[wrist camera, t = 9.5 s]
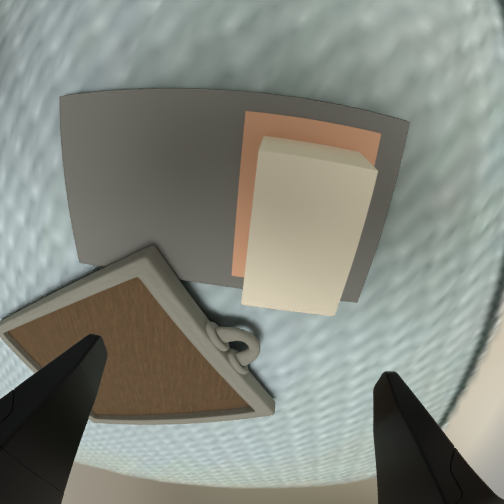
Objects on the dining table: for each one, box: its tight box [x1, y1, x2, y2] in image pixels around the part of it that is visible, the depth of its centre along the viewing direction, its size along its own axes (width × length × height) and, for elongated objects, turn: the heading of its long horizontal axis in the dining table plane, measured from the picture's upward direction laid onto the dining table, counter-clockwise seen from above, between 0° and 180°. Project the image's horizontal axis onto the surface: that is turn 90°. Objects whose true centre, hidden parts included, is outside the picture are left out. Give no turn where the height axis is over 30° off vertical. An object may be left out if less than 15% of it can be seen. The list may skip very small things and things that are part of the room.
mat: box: [60, 88, 410, 302], centre depth 17 cm, size 12×20×1 cm, turn 85°
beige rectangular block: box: [241, 136, 378, 316], centre depth 16 cm, size 5×8×4 cm, turn 174°
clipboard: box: [0, 245, 275, 425], centre depth 26 cm, size 19×2×30 cm
